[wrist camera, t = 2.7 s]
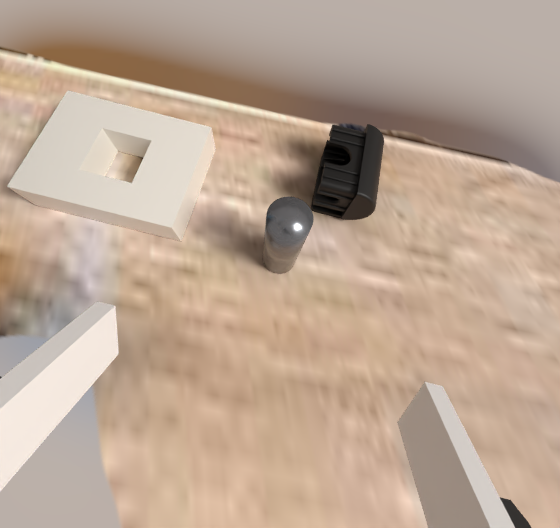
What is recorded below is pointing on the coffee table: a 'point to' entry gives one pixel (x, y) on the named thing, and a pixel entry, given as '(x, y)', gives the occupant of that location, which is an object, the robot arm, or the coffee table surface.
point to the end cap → (349, 173)
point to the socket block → (99, 156)
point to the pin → (285, 233)
